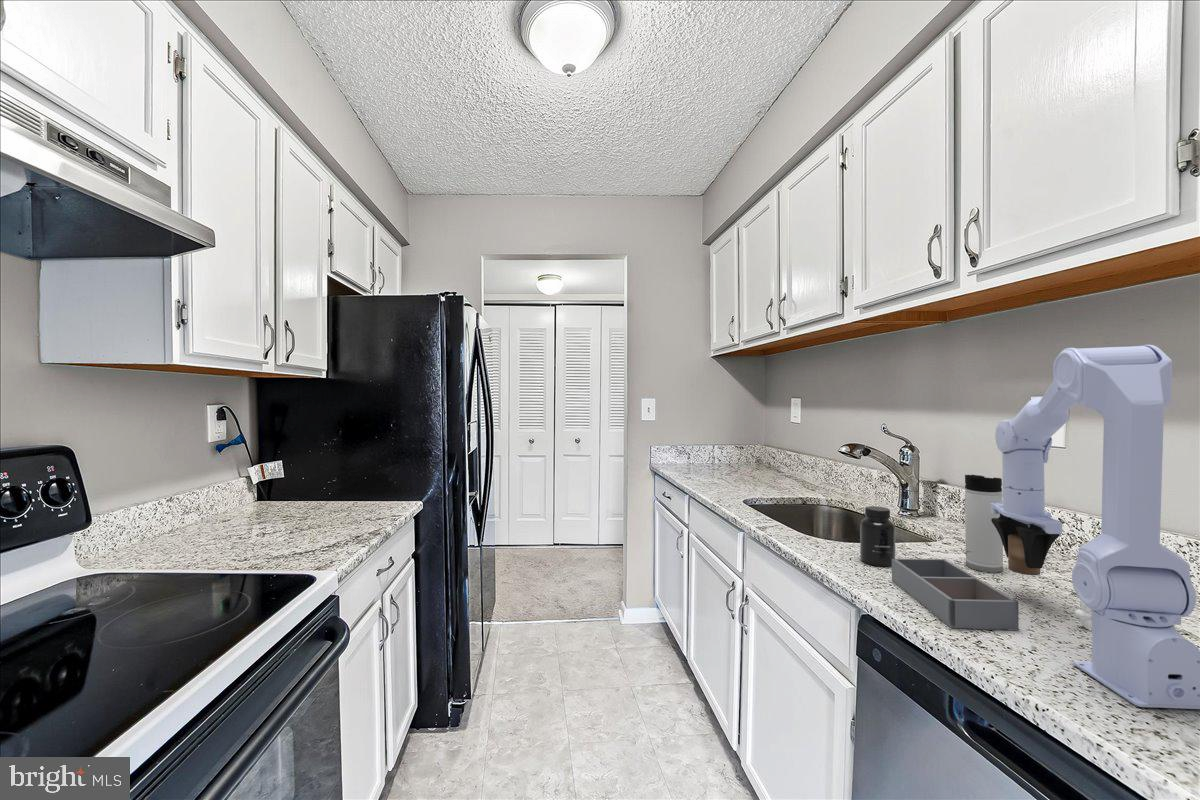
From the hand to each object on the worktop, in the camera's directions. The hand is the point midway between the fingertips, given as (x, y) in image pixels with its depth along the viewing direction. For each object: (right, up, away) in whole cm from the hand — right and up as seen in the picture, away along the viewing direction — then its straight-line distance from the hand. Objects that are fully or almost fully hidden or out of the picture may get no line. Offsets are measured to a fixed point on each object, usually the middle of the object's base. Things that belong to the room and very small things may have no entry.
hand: (1024, 562), depth 89 cm
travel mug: (+5, -7, +16) cm, 18 cm away
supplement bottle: (-15, -7, +21) cm, 26 cm away
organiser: (-14, -7, 0) cm, 16 cm away
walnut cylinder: (0, -1, 0) cm, 1 cm away
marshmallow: (+2, -7, -11) cm, 13 cm away
